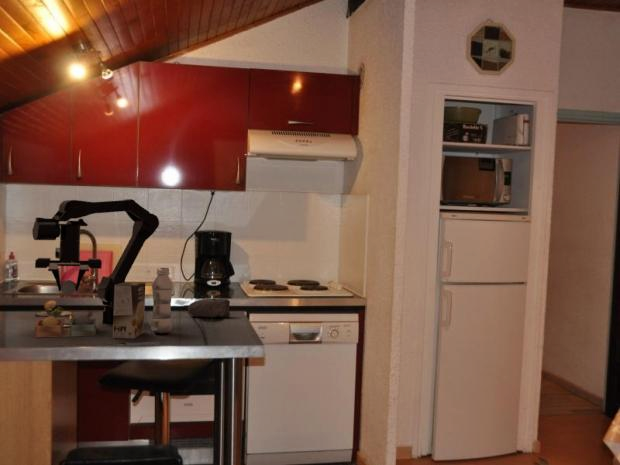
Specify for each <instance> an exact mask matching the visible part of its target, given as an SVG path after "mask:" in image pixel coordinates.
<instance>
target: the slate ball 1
mask: <svg viewBox="0 0 620 465" xmlns="http://www.w3.org/2000/svg"><path fill="white" fill-rule="evenodd" d="M76 284H77V283H75V282H74V281H72V280H69V279H68V280H65V281H63V282H62V283H61V291H60V292H61V293H63V294H65V295H68V296H69V295H72V294H74V293H75V292H76Z"/></svg>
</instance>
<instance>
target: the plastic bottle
mask: <svg viewBox="0 0 620 465" xmlns="http://www.w3.org/2000/svg"><path fill="white" fill-rule="evenodd" d="M169 275H170V268H169V267H157V268H156V278H154V281H152V284H151V290H152V291H151V292H152V303H153V304H152V306H153V307H152V308H153V309H152V316H151V319H150V320H151V321H150V330H151V331H152V332H153V333H154V334H159V333H160V334H159V335H162V334H163V333H164V334H167V333H168V334H169V333H170V332H171V330H172V329H173V320H172V319H173V318H172V312H171V310H172V309H171V307H172V306H171V305H172V304H171V303H172V295H173V290H174V283H173V280H172V279H171V278H170V277H169ZM164 334H163V335H164Z"/></svg>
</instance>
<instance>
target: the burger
mask: <svg viewBox="0 0 620 465" xmlns="http://www.w3.org/2000/svg"><path fill="white" fill-rule="evenodd" d="M43 307H44V311H38V312H36V313H35V316H34V317H35V318H43V317H44V318H46V317H49V316H53V317H55V318H61V317H69V316H71V315H72V314H73V312H72V311H68V310H64V308H62V307H61V306H59V305H58V304H57V301H55V300H47V301H46V303H44V305H43Z"/></svg>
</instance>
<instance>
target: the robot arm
mask: <svg viewBox="0 0 620 465" xmlns="http://www.w3.org/2000/svg"><path fill="white" fill-rule="evenodd" d="M119 212H124V213H125V214H126V215H127V216H128V217H129V218H130V220H132V222H133V226H132V232H131V233H132V234H131V237H130V239H129V240H128V242H127V244H126V246H125V248H124V249H123V252H122V254H121V256H120V257H119V259H118V260H117V263H116V264H115V267H114V269H112V272H111V273H110V274H109V275H108V276H104V275H102V277H101V280H100V283H99V284H98V285H97V286H96V288H97V290H96V295H97V297H98V298H99V300H100V301H101V302H102V305H103V306H104V310H102V319H101V323H102V324H105V325H113V312H114V288H115V286H114V285H115V284H120V283H125V282H126V279H127V277H128V275H129V273H130V270H132V267H133V265H134V264H135V261H136V259H137V257H138V256H139V254H140V252H141V249H142V248H143V246H144V244H145V242H146V241H147V240H148V239H149V238H150V237H151V236H152V235H153V234H154V233H155V232H156V231H157V229H158V228H159V226H160V220H159V217H158V216H157V215H156V214H154V213H151V212H149V210H147V209H146V208H144V207H143V206H141V205H140V204H139V203H137V202H136V201H135V199H131V198H126V199H125V198H124V199H123V200H122V199H121V200H106V201H88V200H80V199H79V200H76V199H66V200H63V201H61V203H60V204H59V206H58V210H57V211H56V212H55V214H53V215H52V217H51V218H48V217H47V218H46V217H35V219H34V222H33V223H34V224H33V226H32V231H31V233H32V239H33V240H34V241H56V240H57V238H59V247H55V251H54V257H55V259H56V260H55V259H51V257H38V258H36V259H35V262H34V264H35V265H34V267H35V269H47V271H48V272H51V273H52V275H53V277H54V280H55V283H56V285H57V288H58V292H62V291H61V285H62V283H61V274H60V267H78V268H79V269H78V273H77V274H78V275H77V279H76V283H75V284H76V290H75V292H78V290H79V288H80V285H81V282H82V280H83V277H84V276H85V273H86V272H90V269H98V270H99V269H102V267H103V266H102V264H103V263H102V259H101V258H90V257H89V258H88V259H87V260H81V259H80V258H81V251H80V250H81V249H80V248H81V227H88V223H87V222H86V221H84V219H83V218H85V217H87V216H90V215H93V214H95V215H96V214H107V213H119ZM72 219H74V220H72ZM76 219H77V220H76ZM60 222H64V223H60ZM65 222H66V223H65Z"/></svg>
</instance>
